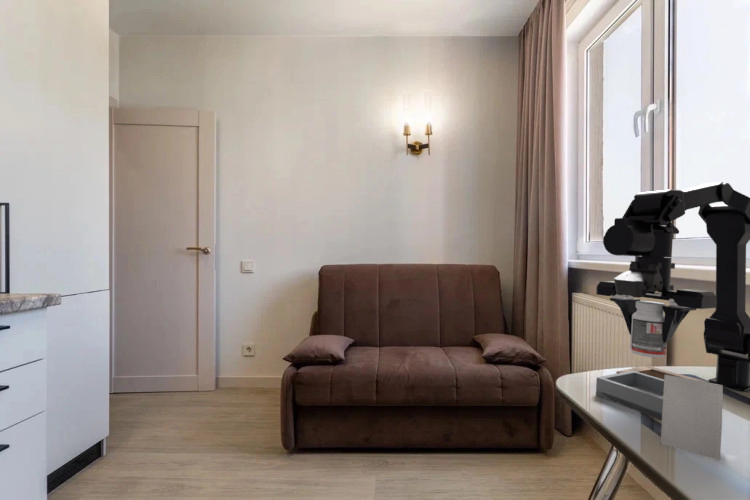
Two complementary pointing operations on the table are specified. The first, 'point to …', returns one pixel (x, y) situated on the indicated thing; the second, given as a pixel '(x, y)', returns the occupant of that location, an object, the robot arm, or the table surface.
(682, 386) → the upright grey panel
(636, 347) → the pill bottle
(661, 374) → the socket block
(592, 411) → the table surface
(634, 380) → the parts tray
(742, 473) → the table surface
